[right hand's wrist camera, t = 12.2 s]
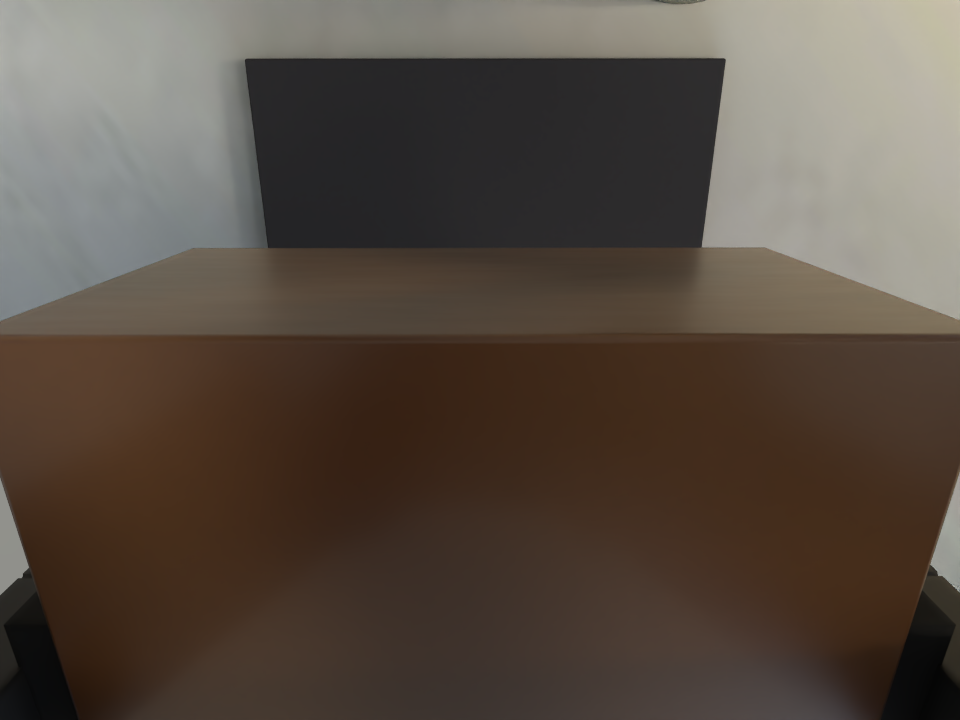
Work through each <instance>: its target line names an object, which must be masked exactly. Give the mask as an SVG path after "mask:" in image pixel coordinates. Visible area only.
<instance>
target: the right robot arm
mask: <svg viewBox="0 0 960 720" xmlns="http://www.w3.org/2000/svg"><path fill="white" fill-rule="evenodd" d="M0 720H78V717H77V714H76V711H75V708H74V705H73V702H72V699H71V696H70V693H69V690H68V686H67V683H66V680H65V677H64V674H63V671H62V668H61V665H60V662H59V658H58V655H57V652H56V649H55V646H54V643H53V640H52V637H51V634H50V630H49V627H48V624H47V621H46V618H45V615H44V612H43V609H42V606H41V602H40V599H39V596H38V593H37V590H36V587H35V584H34V581H33V578H32V574H31V571H30V568H28V569H27V570H26V571H25V572H24V573H23V577H22V578H18V579H17V580H16V581H15V582H14V583H13V584H12V585H11V586H10V587H9V588H8V589H6V590H5V591H4V592H3V593H2V594H1V595H0ZM881 720H960V593H959V592H958V591H957V590H956V589H955V588H954V587H953V586H952V585H951V584H950V583H949V582H948V581H947V580H946V579H945V578H944V577H943V576H938V574H937V571H936V570H935V569H934V568H933V567H932V566H931V565H930V566H929V570H928V573H927V576H926V579H925V582H924V585H923V588H922V592H921V595H920V598H919V601H918V604H917V607H916V610H915V614H914V617H913V620H912V623H911V626H910V629H909V632H908V636H907V639H906V642H905V645H904V648H903V651H902V654H901V658H900V661H899V664H898V667H897V670H896V673H895V676H894V679H893V683H892V686H891V689H890V692H889V695H888V698H887V701H886V705H885V708H884V711H883V714H882V717H881Z"/></svg>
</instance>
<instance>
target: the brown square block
mask: <svg viewBox="0 0 960 720" xmlns="http://www.w3.org/2000/svg"><path fill="white" fill-rule="evenodd" d="M959 472H960V320H957V319H954V318H952V317H949V316H946V315H944V314H941V313H938V312H936V311H933V310H930V309H928V308H925V307H922V306H920V305H917V304H914V303H912V302H909V301H906V300H904V299H901V298H898V297H896V296H893V295H890V294H888V293H885V292H882V291H880V290H877V289H874V288H872V287H869V286H866V285H864V284H861V283H858V282H856V281H853V280H850V279H848V278H845V277H842V276H840V275H837V274H834V273H831V272H829V271H826V270H823V269H821V268H818V267H815V266H813V265H810V264H807V263H805V262H802V261H799V260H797V259H794V258H791V257H789V256H786V255H783V254H781V253H778V252H775V251H773V250H770V249H767V248H193V249H190V250H187V251H185V252H182V253H179V254H177V255H174V256H171V257H169V258H166V259H164V260H161V261H158V262H156V263H153V264H150V265H148V266H145V267H142V268H140V269H137V270H134V271H132V272H129V273H126V274H124V275H121V276H119V277H116V278H113V279H111V280H108V281H105V282H103V283H100V284H97V285H95V286H92V287H89V288H87V289H84V290H82V291H79V292H76V293H74V294H71V295H68V296H66V297H63V298H60V299H58V300H55V301H52V302H50V303H47V304H45V305H42V306H39V307H37V308H34V309H31V310H29V311H26V312H23V313H21V314H18V315H15V316H13V317H10V318H8V319H5V320H2V321H0V478H1V481H2V484H3V487H4V491H5V494H6V497H7V500H8V503H9V506H10V509H11V512H12V515H13V518H14V522H15V524H16V528H17V531H18V534H19V537H20V540H21V543H22V546H23V549H24V552H25V556H26V559H27V562H28V565H29V568H30V571H31V574H32V578H33V581H34V584H35V587H36V590H37V593H38V596H39V599H40V602H41V606H42V609H43V612H44V615H45V618H46V621H47V624H48V627H49V630H50V634H51V637H52V640H53V643H54V646H55V649H56V652H57V655H58V658H59V662H60V665H61V668H62V671H63V674H64V677H65V680H66V683H67V686H68V690H69V693H70V696H71V699H72V702H73V705H74V708H75V711H76V714H77V717H78V720H881V717H882V714H883V711H884V708H885V705H886V701H887V698H888V695H889V692H890V689H891V686H892V683H893V679H894V676H895V673H896V670H897V667H898V664H899V661H900V658H901V654H902V651H903V648H904V645H905V642H906V639H907V636H908V632H909V629H910V626H911V623H912V620H913V617H914V614H915V610H916V607H917V604H918V601H919V598H920V595H921V592H922V588H923V585H924V582H925V579H926V576H927V573H928V570H929V566H930V563H931V560H932V557H933V554H934V551H935V548H936V545H937V541H938V538H939V535H940V532H941V529H942V526H943V523H944V519H945V516H946V513H947V510H948V507H949V504H950V501H951V497H952V494H953V491H954V488H955V485H956V482H957V479H958V475H959Z"/></svg>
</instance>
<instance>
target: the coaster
mask: <svg viewBox="0 0 960 720" xmlns="http://www.w3.org/2000/svg"><path fill="white" fill-rule="evenodd" d="M725 61H726V60H725V59H724V58H663V59H245V64H246V72H247V80H248V88H249V96H250V104H251V112H252V120H253V129H254V137H255V145H256V153H257V161H258V169H259V177H260V185H261V193H262V202H263V210H264V218H265V226H266V234H267V242H268V248H701V247H702V239H703V231H704V224H705V216H706V208H707V200H708V193H709V185H710V177H711V169H712V162H713V154H714V146H715V138H716V131H717V123H718V115H719V107H720V100H721V92H722V84H723V76H724V69H725Z"/></svg>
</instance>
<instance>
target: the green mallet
mask: <svg viewBox="0 0 960 720" xmlns="http://www.w3.org/2000/svg"><path fill="white" fill-rule="evenodd" d="M659 1H662V2H667V3H674V4H690V3H696V2H702V1H705V0H659Z"/></svg>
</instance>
